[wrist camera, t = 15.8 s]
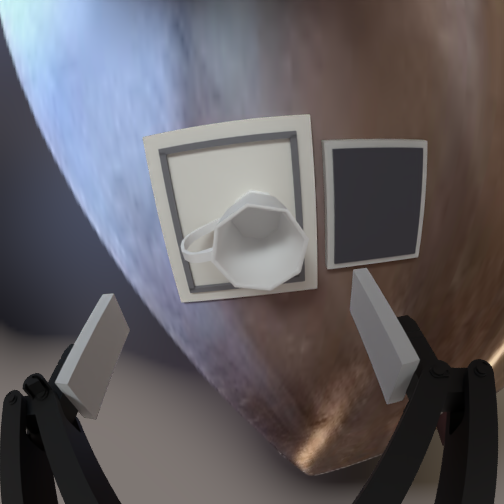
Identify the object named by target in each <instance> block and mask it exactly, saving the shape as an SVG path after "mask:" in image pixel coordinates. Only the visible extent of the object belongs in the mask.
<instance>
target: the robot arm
mask: <svg viewBox="0 0 504 504" xmlns="http://www.w3.org/2000/svg"><path fill="white" fill-rule="evenodd" d="M350 312H351V314H352V317H353V319H354V321H355V324H356V326H357V329H358V331H359V333H360V336H361V338H362V341H363V343H364V346H365V348H366V351H367V353H368V356H369V358H370V361H371V363H372V366H373V368H374V371H375V374H376V376H377V379H378V381H379V384H380V387H381V389H382V392H383V395H384V398H385V400H386V403H387V404H391V403H395V402H398V401H402V400H403V399H404V396H405V394H407V396H408V398H409V401H408V403H407V405H406V407H405V409H404V411H403V415H402V417H401V419H400V421H399V423H398V425H397V427H396V429H395V431H394V433H393V435H392V437H391V439H390V441H389V443H388V445H387V447H386V449H385V451H384V452H383V454H382V456H381V458H380V460H379V461H378V463H377V465H376V467H375V468H374V470H373V472H372V474H371V475H370V477H369V478H368V480H367V482H366V483H365V485H364V486H363V488H362V490H361V491H360V493H359V495H358V496H357V497H356V499H355V500H354V502H353V503H352V504H401V503H402V501H403V499H404V497H405V495H406V494H407V492H408V490H409V488H410V486H411V484H412V482H413V480H414V478H415V476H416V473H417V472H418V469H419V467H420V465H421V463H422V461H423V458H424V456H425V454H426V451H427V449H428V446H429V444H430V442H431V439H432V436H433V434H434V431H435V429H436V426H437V423H438V420H439V417H440V414H441V412H447V417H446V430H445V441H444V450H443V458H442V465H441V472H440V478H439V484H438V489H437V494H436V499H435V503H434V504H494V498H495V489H496V478H497V464H498V463H497V462H498V418H497V400H496V389H495V380H494V372H493V369H492V366H491V365H490V364H489V363H488V362H486V361H485V360H481V359H477V360H474V361H472V362H471V363H470V364H469V366H468V368H451V367H450V366H449V365H448V364H447V363H446V362H444V361H442V360H438V359H437V357H436V356H435V354H434V352H433V350H432V349H431V347H430V345H429V344H428V342H427V340H426V338H425V337H424V335H423V333H422V332H421V331H420V328H419V327H418V325H417V324H416V322H415V321H414V320H413V319H411V318H410V317H409V316H407V315H406V316H401V317H396V316H395V314H394V312H393V310H392V309H391V307H390V305H389V304H388V302H387V300H386V298H385V297H384V295H383V293H382V292H381V290H380V289H379V287H378V285H377V284H376V282H375V280H374V279H373V277H372V276H371V274H370V272H369V271H368V269H367V268H361V269H354V270H353V279H352V291H351V302H350ZM128 333H129V327H128V325H127V323H126V321H125V319H124V316H123V314H122V312H121V309H120V307H119V305H118V302H117V300H116V298H115V295H114V294H103V295H102V297H101V298H100V300H99V302H98V303H97V305H96V307H95V308H94V310H93V312H92V314H91V315H90V317H89V319H88V321H87V322H86V324H85V326H84V328H83V329H82V331H81V333H80V335H79V337H78V339H77V341H76V342H75V344H71V345H70V346H69V347H68V348H67V349H66V350H65V351H64V353H63V355H62V356H61V359H60V360H59V362H58V365H57V366H56V368H55V370H54V372H53V374H52V376H51V378H50V380H49V382H47V381H46V380H45V378H44V377H43V376H42V375H41V374H39V373H35V374H32V375H30V376H29V377H27V379H26V380H25V381H24V384H23V390H24V391H25V392H26V393H27V394H28V396H23V395H22V394H21V393H20V392H19V391H18V390H13V391H11V392H9V393H8V394H7V395H6V397H5V399H4V402H3V412H2V422H1V438H0V484H1V499H2V504H58V500H57V494H56V489H55V482H54V477H55V480H56V482H57V485H58V487H59V490H60V493H61V495H62V497H63V500H64V502H65V504H121V502H120V501H119V499H118V498H117V496H116V494H115V492H114V491H113V489H112V487H111V486H110V484H109V482H108V480H107V478H106V476H105V474H104V473H103V471H102V469H101V467H100V465H99V463H98V461H97V459H96V457H95V455H94V453H93V451H92V449H91V446H90V444H89V442H88V440H87V437H86V435H85V433H84V431H83V428H82V426H81V424H80V421H79V419H78V418H77V417H76V415H77V412H79V413H80V414H81V415H82V416H83V417H84V418H89V419H95V420H96V419H97V416H98V413H99V410H100V407H101V404H102V401H103V398H104V396H105V393H106V390H107V387H108V385H109V382H110V379H111V376H112V374H113V371H114V368H115V366H116V363H117V361H118V358H119V355H120V353H121V350H122V348H123V345H124V343H125V340H126V338H127V335H128ZM26 429H27V434H26Z"/></svg>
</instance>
